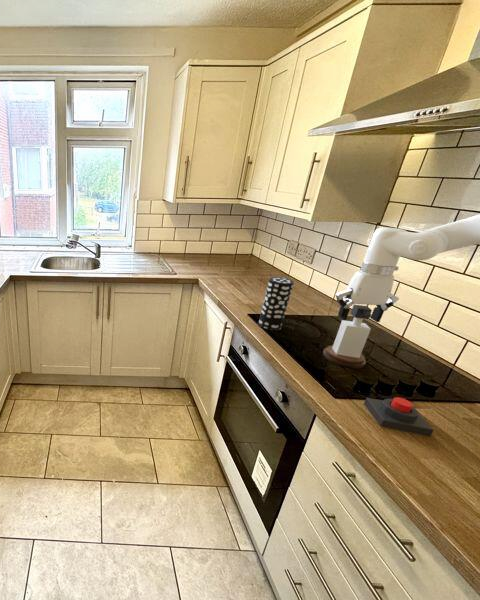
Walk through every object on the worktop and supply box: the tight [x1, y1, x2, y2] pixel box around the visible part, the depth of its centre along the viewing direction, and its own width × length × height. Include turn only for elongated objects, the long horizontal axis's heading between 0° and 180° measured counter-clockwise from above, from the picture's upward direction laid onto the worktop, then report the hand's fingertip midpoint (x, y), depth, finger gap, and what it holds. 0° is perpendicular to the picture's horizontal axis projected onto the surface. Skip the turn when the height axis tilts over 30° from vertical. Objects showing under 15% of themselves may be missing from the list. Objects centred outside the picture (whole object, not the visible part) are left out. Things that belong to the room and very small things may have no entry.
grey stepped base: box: [363, 397, 435, 437], centre depth 82 cm, size 10×9×4 cm
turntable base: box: [322, 347, 367, 369], centre depth 109 cm, size 12×12×1 cm
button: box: [391, 396, 414, 413], centre depth 81 cm, size 4×4×2 cm
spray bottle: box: [325, 304, 373, 363], centre depth 105 cm, size 10×10×18 cm
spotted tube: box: [257, 276, 295, 331], centre depth 128 cm, size 8×8×20 cm
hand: (358, 319), depth 103 cm, fingers open, 9 cm apart
